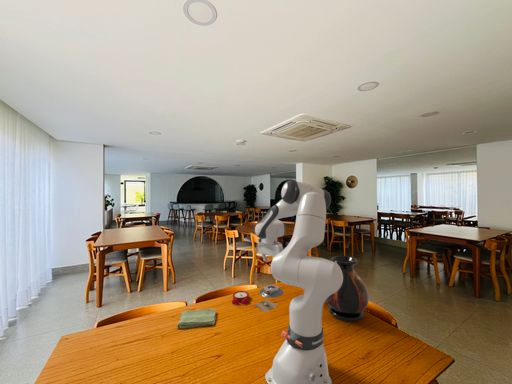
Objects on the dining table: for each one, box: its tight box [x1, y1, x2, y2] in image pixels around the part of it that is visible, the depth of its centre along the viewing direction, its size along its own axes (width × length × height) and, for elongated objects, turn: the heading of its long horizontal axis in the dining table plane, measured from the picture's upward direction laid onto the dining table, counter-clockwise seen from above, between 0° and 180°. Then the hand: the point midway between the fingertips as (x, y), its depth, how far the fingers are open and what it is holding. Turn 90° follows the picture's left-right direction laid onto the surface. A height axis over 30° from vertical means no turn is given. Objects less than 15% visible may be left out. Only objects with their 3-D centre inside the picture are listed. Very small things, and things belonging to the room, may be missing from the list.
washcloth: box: [176, 308, 217, 330], centre depth 105 cm, size 13×18×3 cm
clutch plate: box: [263, 284, 280, 295], centre depth 132 cm, size 6×8×3 cm
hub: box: [259, 285, 284, 299], centre depth 133 cm, size 15×15×4 cm
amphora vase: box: [325, 255, 370, 323], centre depth 109 cm, size 22×22×28 cm
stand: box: [253, 299, 279, 313], centre depth 116 cm, size 10×10×2 cm
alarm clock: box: [231, 290, 250, 306], centre depth 123 cm, size 10×6×15 cm
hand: (270, 262), depth 133 cm, fingers open, 8 cm apart
